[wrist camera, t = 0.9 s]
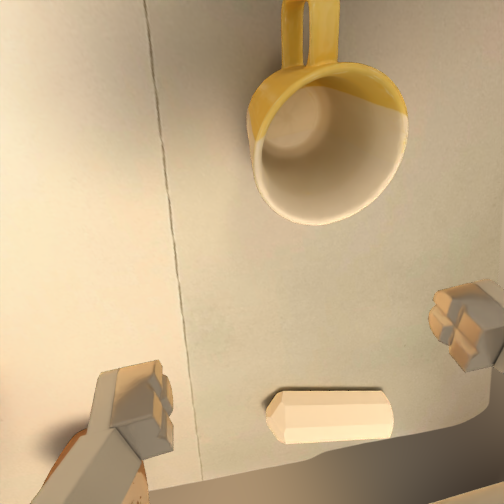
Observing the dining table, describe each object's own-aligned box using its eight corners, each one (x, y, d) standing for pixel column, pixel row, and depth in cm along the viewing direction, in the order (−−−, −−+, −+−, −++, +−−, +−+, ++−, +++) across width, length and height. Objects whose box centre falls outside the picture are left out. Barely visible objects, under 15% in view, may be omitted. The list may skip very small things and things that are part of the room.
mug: (329, 171, 33) (381, 225, 25) (227, 170, 31) (247, 228, 23) (368, -1, 25) (463, -5, 17) (235, -18, 23) (270, -32, 15)
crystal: (257, 441, 55) (375, 435, 63) (274, 445, 49) (403, 437, 57) (255, 393, 59) (369, 392, 66) (272, 390, 53) (394, 390, 60)
